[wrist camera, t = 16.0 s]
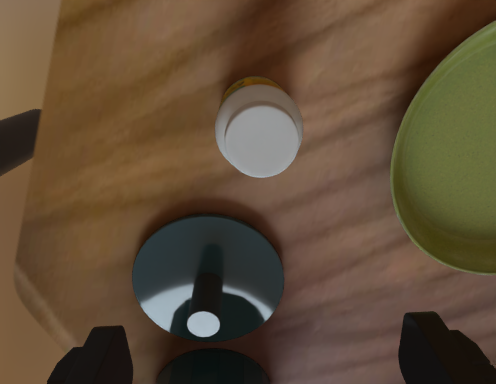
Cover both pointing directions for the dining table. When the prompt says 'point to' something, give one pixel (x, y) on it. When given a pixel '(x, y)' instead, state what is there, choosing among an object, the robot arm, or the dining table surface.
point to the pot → (213, 369)
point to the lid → (208, 277)
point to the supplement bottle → (258, 127)
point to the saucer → (451, 159)
